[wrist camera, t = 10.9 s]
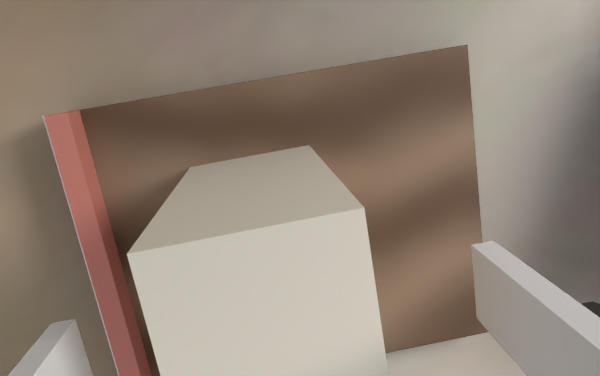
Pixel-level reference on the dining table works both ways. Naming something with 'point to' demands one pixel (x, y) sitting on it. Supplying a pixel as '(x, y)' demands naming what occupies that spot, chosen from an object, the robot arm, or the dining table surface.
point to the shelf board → (339, 158)
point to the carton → (260, 273)
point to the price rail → (97, 241)
